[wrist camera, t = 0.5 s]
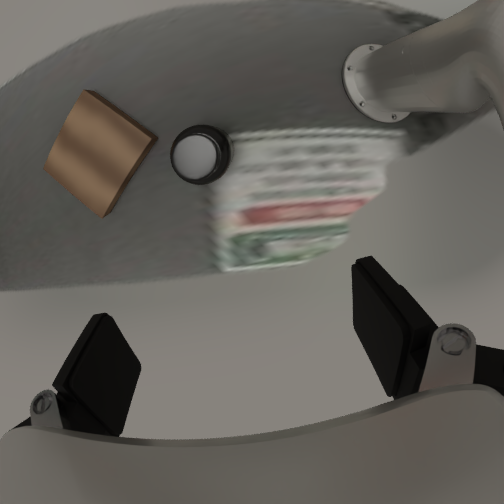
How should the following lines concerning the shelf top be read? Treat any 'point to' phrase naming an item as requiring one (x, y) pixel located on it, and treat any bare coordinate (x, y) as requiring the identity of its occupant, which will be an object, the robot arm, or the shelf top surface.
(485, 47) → the robot arm
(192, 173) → the supplement bottle
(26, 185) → the shelf top surface
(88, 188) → the wavy wooden tray
